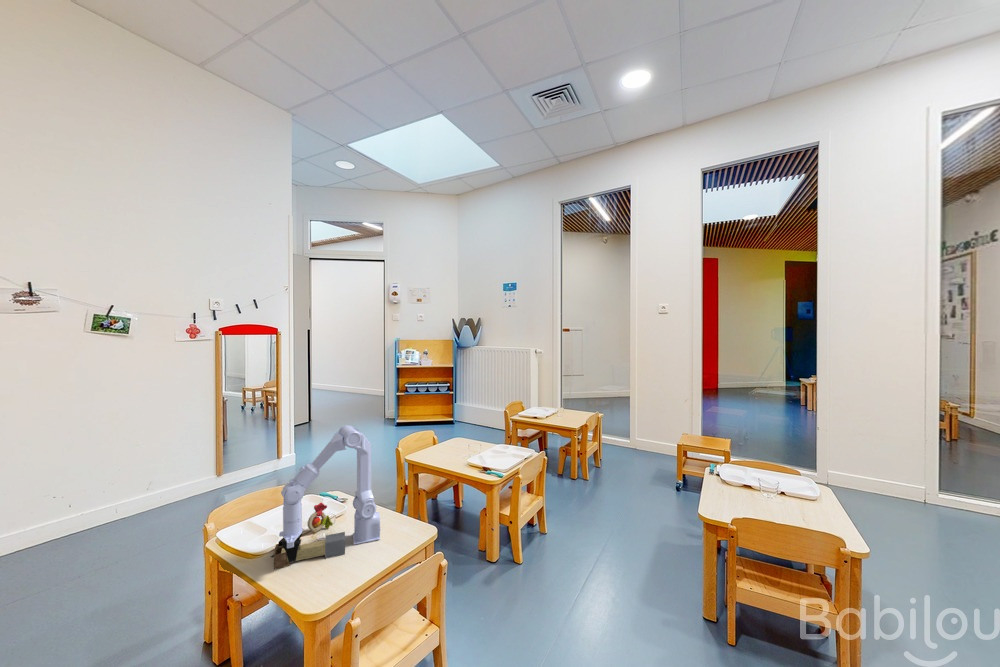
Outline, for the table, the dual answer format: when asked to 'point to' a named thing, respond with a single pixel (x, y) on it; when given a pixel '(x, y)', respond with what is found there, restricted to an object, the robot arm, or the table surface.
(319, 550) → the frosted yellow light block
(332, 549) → the sleeve
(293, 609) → the table surface
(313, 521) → the bird rattle
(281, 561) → the socket
